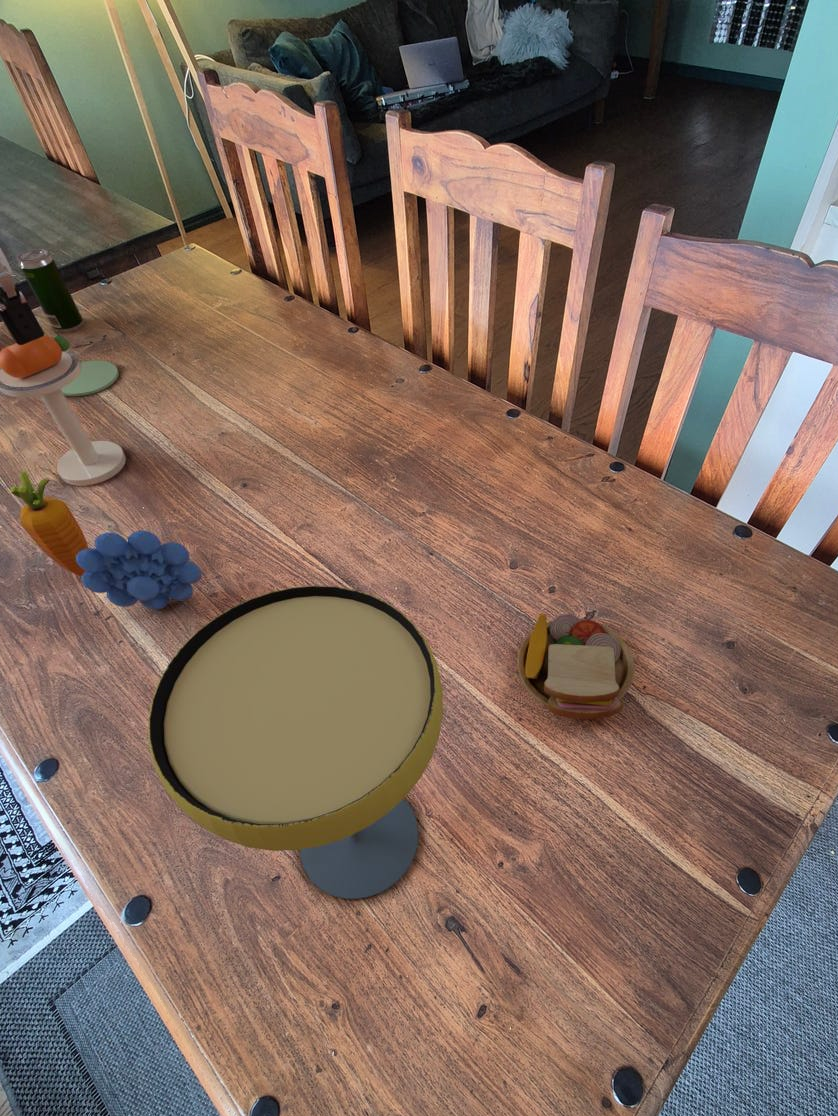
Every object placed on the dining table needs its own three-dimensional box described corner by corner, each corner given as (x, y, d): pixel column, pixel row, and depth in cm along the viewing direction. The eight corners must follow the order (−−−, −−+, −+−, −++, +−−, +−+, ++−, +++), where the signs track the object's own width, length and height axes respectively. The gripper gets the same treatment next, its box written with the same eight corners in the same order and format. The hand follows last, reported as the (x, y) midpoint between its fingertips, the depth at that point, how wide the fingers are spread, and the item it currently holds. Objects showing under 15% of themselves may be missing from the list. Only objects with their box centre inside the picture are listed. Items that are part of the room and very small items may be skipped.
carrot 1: (16, 389, 81) (7, 370, 78) (-4, 366, 81) (-14, 347, 78) (80, 361, 85) (74, 342, 82) (61, 339, 85) (54, 319, 82)
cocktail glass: (240, 945, 55) (98, 833, 35) (279, 751, 66) (188, 583, 46) (456, 943, 55) (435, 830, 35) (459, 749, 66) (445, 580, 46)
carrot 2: (76, 562, 83) (7, 464, 71) (115, 562, 83) (52, 464, 71) (60, 591, 80) (-16, 494, 68) (100, 592, 80) (31, 495, 68)
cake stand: (43, 468, 95) (-22, 370, 83) (107, 435, 99) (54, 338, 87) (77, 498, 90) (14, 399, 79) (142, 463, 95) (92, 365, 83)
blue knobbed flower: (113, 648, 75) (57, 576, 65) (109, 606, 78) (56, 532, 69) (217, 617, 77) (178, 543, 68) (208, 578, 81) (170, 502, 71)
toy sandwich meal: (637, 634, 75) (644, 607, 71) (626, 737, 67) (634, 712, 63) (528, 616, 76) (530, 588, 73) (504, 714, 68) (505, 689, 65)
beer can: (74, 334, 118) (37, 263, 108) (47, 332, 118) (8, 261, 109) (90, 320, 121) (56, 249, 111) (64, 317, 122) (27, 247, 112)
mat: (43, 381, 109) (41, 378, 108) (99, 356, 113) (98, 353, 113) (73, 403, 104) (71, 401, 104) (130, 377, 109) (128, 374, 108)
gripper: (-160, 148, 67) (-49, 316, 81) (-96, 186, 60) (14, 364, 73) (-83, 129, 70) (11, 294, 84) (-14, 163, 63) (77, 337, 77)
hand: (12, 326), depth 79 cm, fingers open, 9 cm apart
